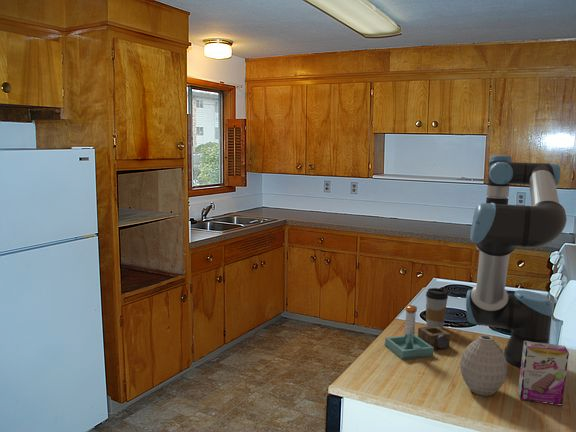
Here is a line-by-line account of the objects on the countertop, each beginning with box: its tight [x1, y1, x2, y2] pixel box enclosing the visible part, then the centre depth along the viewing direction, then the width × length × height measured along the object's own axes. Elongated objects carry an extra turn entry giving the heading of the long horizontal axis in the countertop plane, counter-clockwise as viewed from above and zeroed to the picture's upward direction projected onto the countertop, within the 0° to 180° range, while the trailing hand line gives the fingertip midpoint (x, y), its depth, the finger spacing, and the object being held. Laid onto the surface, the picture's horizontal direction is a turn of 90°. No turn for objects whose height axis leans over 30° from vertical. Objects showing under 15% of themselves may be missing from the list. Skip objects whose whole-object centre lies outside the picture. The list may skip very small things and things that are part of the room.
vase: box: [460, 334, 508, 397], centre depth 150 cm, size 13×13×17 cm
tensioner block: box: [417, 326, 451, 350], centre depth 184 cm, size 10×8×5 cm
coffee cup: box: [425, 287, 449, 329], centre depth 200 cm, size 8×8×15 cm
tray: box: [384, 334, 435, 361], centre depth 178 cm, size 12×12×3 cm
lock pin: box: [404, 304, 418, 350], centre depth 177 cm, size 4×4×15 cm
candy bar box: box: [517, 341, 570, 405], centre depth 146 cm, size 11×5×16 cm, turn 74°
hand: (492, 253), depth 192 cm, fingers open, 13 cm apart
